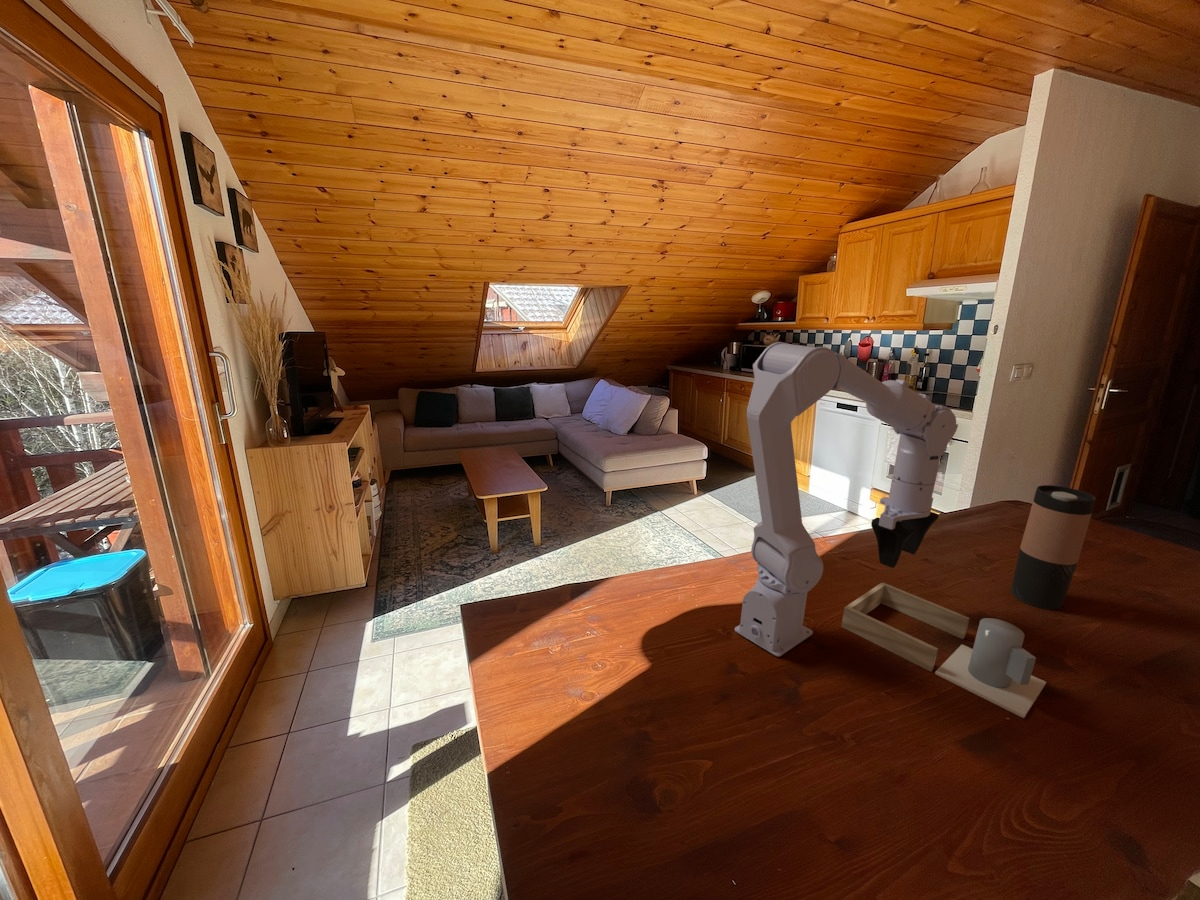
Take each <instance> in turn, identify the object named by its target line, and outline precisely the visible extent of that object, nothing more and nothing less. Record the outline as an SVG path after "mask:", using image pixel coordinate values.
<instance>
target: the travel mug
mask: <svg viewBox="0 0 1200 900" xmlns="http://www.w3.org/2000/svg"><path fill="white" fill-rule="evenodd" d="M1096 499H1097V498H1096V497H1095V495H1092V494H1090V493H1088V492H1085V491H1083V490H1079V489H1075V488H1071V487H1065V486H1060V485H1050V484H1046V485H1045V484H1043V485H1039V486H1037V488H1036V491H1035V494H1034V497H1033V500H1032V504H1031V507H1030V512H1029V516H1028V518H1027V523H1026V526H1025V530H1024V532H1023V535H1022V539H1021V544H1020V547H1019V551H1018V556H1017V560H1016V564H1015V565H1016V566H1015V569H1014V573H1013V578H1012V583H1011V588H1010V593H1011V595H1012V596H1013V597H1014V598H1016V599H1017V600H1019V601H1020V602H1023V604H1027V605H1029V606H1032V605H1033V606H1032V607H1035V608H1040V609H1043V610H1051V611H1054V610H1059V609H1061V608H1062V607H1063V604H1064V602H1065V599H1066V596H1067V593H1068V591H1069V588H1070V585H1071V582H1072V579H1073V578H1074V577H1073V576H1074V574H1075V570H1076V568H1077V566H1078V565H1077V564H1078V562H1079V560H1080V555H1081V552H1082V549H1083V546H1084V541H1085V538H1086V535H1087V531H1088V528H1089V525H1090V521H1091V517H1092V514H1093V511H1094V508H1095V507H1094V506H1095V504H1096Z"/></svg>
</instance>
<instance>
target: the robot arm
mask: <svg viewBox="0 0 1200 900" xmlns="http://www.w3.org/2000/svg"><path fill="white" fill-rule="evenodd" d="M752 370H753V378H754V381H753V383H752V384H753V385H752V387H751V392H750V397H749V400H748V404H747V408H746V409H747V410H746V419H747V429H748V433H749V434H748V435H749V440H750V447H751V454H752V461H753V467H754V468H753V469H754V475H755V482H756V487H757V495H758V503H759V509H760V516H761V522H759V523H757V524H756V525H755V526H754V527H753V540H752V543H751V550H750V551H751V556H752V558H753V560H754V561H755V562H756V563H757V567H756V571H757V572H758V574H757V575H758V576H757V579H756V583H755V584H754V585H753V587H752V588H751V589H750V590H749V591H748V592H746V593H745V595H744V596H743V598H742V604H741V605H742V606H741V615H740V623H739V625H737V626H735V627H734V632H735V633H737V634H739V635H741V636H742V637H744V638H745V639H747V640H748V641H751V642H753V643H754V644H756V645H757V646H759V647H760V648H762V649H764V650H766V651H767V652H769V653H770V654H772V655H773V656H775V657H778V658H779V657H781V656H783V655H784V654H786V653H787V652H788V651H790V650H792V649H794V647H796V646H797V645H799V644H800V643H802V642H803V641H805V640H806V639H808V638H810V637H811V636H812V635H813V634H814V631H813V630H812V629H810V628H809V627H807V626H805V625H803V623H804V617H805V612H806V611H805V609H806V605H807V604H806V603H807V597H808V592H810V591H812V589H813V588H814V587H815V586H816V585H817V584H818V583H819V581H820V580H821V578H822V576H823V572H824V562H823V560H822V558H821V557H820V555H819V554H818V553H817V550H816V543H815V541H814V539H813V538H812V536H811V535H810V534H809V532H808V530H807V529H806V527H805V526H804V525H803V518H802V510H801V501H800V492H799V485H798V482H799V481H798V476H797V466H796V459H795V451H794V450H795V449H794V448H795V447H794V442H793V433H792V431H793V430H792V422H793V420H794V419H795V418H796V417H798V416H801V414H803V413H804V412H805V411H807V410H808V409H809V408H811V406H813V405H814V404H815V403H817V402H818V401H820V399H822V398H823V397H824V396H826V395H827V394H829V392H830V391H831V390H835V391H839V390H841V391H842V392H845V393H847V394H848V395H850V396H853V397H855V398H857V399H859V400H861V401H863V402H865V407H866V411H867V412H868V414H870V416H872V417H874V418H876V419H877V420H880V421H881V422H883V423H885V424H887V425H889V426H890V427H892V428H893V430H894V432H895V434H896V435H899V441H898V445H897V451H896V457H895V461H894V466H893V467H894V468H893V471H892V478H891V482H890V489H889V493H888V496H887V497H886V496H884V497H881V498H880V499H879V503H880V504H881V505H884V511H883V512H882V513H880V516H878V517H875V518H873V519H872V520H871V523H870V524H871V525H870V526H871V528H872V530H873V532H874V535H875V538H876V543H877V548H878V560H879V564H881V565H884V566H886V567H889V568H892V569H893V568H895V567H896V565H897V564H898V562H899V559H900V557H901V554H902V552H905V553H908V554H911V555H915V554H916V553H918V552H917V551H918V550H919V548H920V546H921V544H922V542H923V540H924V538H925V536H926V534H927V533H928V531H929V529H930V528H931V527H932V525H933V524H934V523H935V522H936V521H937V520H938V519H939V517H940V516H939V514H938V513H935V512H933V511H931V510H932V506H933V503H934V502H933V501H934V497H933V495H934V494H933V493H934V490H935V485H936V481H937V480H936V479H937V476H938V471H939V465H940V462H941V458H942V457H941V456H944V454H945V452H947V449H948V445H949V443H950V441H951V439H952V438H953V437H954V435H955V434H956V432H957V431H958V427H959V424H957V416H956V415H955V414H954V412H953V411H952V409H951V408H949V407H947V406H945V405H941V404H935V403H933V402H932V401H930V396H929V395H927V394H924V393H917V392H916V391H914V390H912V389H911V388H909V387H910V386H911V384H910V382H909V381H906V380H904V379H899V378H898V379H895V380H893V379H890V380H889V379H887V380H883V381H881V380H878V379H877V378H876V377H874V376H873V375H872V374H870V373H869V372H867V371H866V370H864V369H862V368H861V366H858V365H856V363H854V362H853V361H851V360H850V359H847V358H846V355H844V354H841V353H839V352H834V350H833V349H831V348H829V347H826V346H817V347H815V346H807V345H801V344H800V345H799V344H790V343H788V342H783V341H778V342H773V343H772V344H770V345H767V347H766V348H764V350H763V352H762V353H761V354H760V355H759V357H757V359H756V360H755V362H753V363H752Z"/></svg>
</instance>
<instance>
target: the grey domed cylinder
mask: <svg viewBox="0 0 1200 900" xmlns="http://www.w3.org/2000/svg"><path fill="white" fill-rule="evenodd" d="M975 635H976V636H975V639H974V643H973V647H972V649H973V650H972V654H971V658H970V662H969V666H968V671H969V673H970V674H971V675H972V676H973V677H974V678H975V679H977V680H978V681H980V682H982V683H984V684H986V685H989V686H992V687H996V688H1008V687H1009V686H1010V685H1011V682H1012V679H1013V680H1014V681H1015V682H1017V683H1018V684H1019V685H1028V684H1029V681H1030V677H1031V675H1032V673H1033V670H1034V666H1035V664H1036V661H1037V660H1036V659H1037V657H1035V656H1034V655H1033V654H1031V653H1030V652H1029V651H1027V650H1026V649H1025V648H1023V647H1022V646H1023V643H1024V641H1025V633H1024V632H1023V630H1022V629H1020V627H1018V626H1015V625H1014V624H1012V623H1010V622H1008V621H1005V620H1001V619H997V618H992V617H991V618H990V617H985V618H982V619H980V620H979V625H978V627H977V632H976V634H975Z"/></svg>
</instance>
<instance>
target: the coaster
mask: <svg viewBox="0 0 1200 900" xmlns="http://www.w3.org/2000/svg"><path fill="white" fill-rule="evenodd" d="M972 650H973V648H971V647H969V646H967V645H964V644H960V646H958V648H957V649H956V650H955V651H954V652H953V653H952V654H951V655H950V656H949V657H948V658H947V659H946V660H945V661H944V662H943V663H942V664H941V665H940V666H939V667H938V668H937V669H936V670H935V672H934V675H937V676H938V677H940V678H943V679H944V680H947V681H948V682H950V683H953V684H954V685H956V686H959V687H960V688H962V689H964V690H967V691H969V692H971V693H972V694H975V695H976V696H978V697H981V698H982V699H985V700H986V701H988V702H991V703H992V704H994V705H996V706H999V707H1000V708H1001V709H1002V708H1003V709H1004V710H1006V711H1008V712H1010V713H1013V714H1014V715H1016V716H1018V717H1020V718H1022V719H1025V717H1026V716H1027V715H1028V713H1029V711H1030V709H1031V708H1032V706H1033V705H1034V703H1035V701H1036V700H1037V698H1038V697H1039V696H1040V694H1041V692H1042V691H1043V690H1044V687H1045V686H1046V684H1047V681H1045V680H1043V679H1040V678H1038V677H1036V676H1034V675H1032V674H1031V677H1030V681H1029V684H1028V685H1019V684H1018V683H1017V682H1015V681H1014V680H1013V679H1012V682H1011V685H1010V686H1009V687H1008V688H996V687H992V686H989V685H986V684H984V683H982V682H980V681H978V680H977V679H975V678H974V677H973V676H972V675H971V674H970V673H969V671H968V666H969V662H970V658H971V654H972Z"/></svg>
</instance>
